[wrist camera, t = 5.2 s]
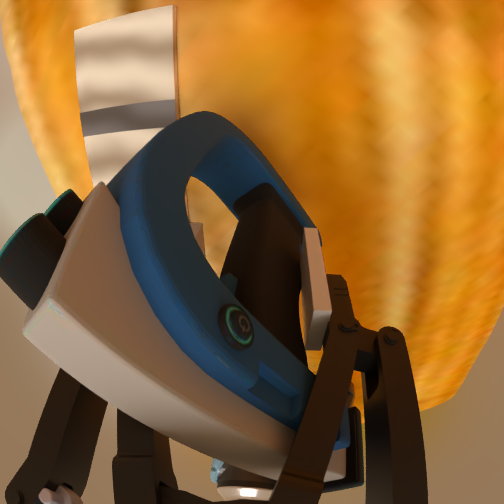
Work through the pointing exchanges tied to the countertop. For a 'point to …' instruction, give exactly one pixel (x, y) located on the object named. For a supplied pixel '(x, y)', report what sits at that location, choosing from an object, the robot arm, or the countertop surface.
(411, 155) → the countertop surface
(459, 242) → the countertop surface
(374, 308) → the countertop surface
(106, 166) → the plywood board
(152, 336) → the handheld scanner
